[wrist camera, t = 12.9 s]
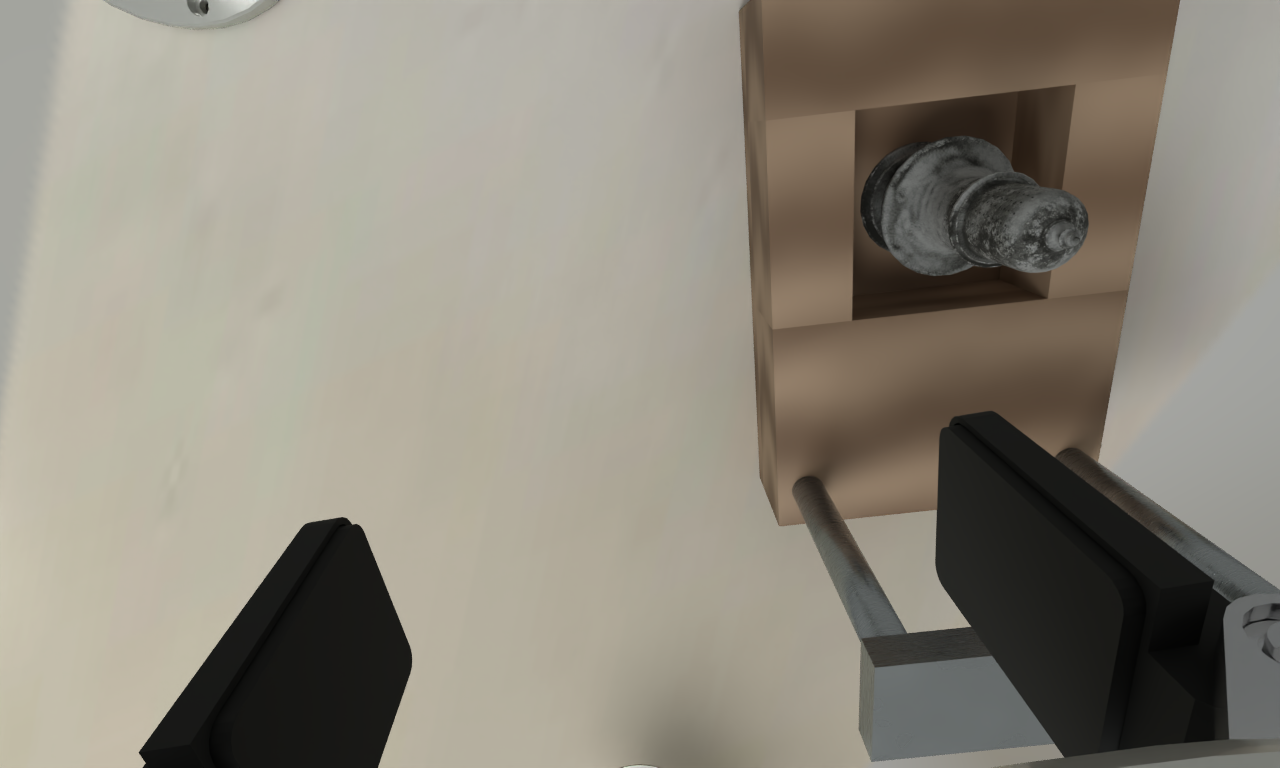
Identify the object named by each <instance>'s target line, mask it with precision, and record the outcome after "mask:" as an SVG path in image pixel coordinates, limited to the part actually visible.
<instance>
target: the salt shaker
mask: <svg viewBox="0 0 1280 768" xmlns="http://www.w3.org/2000/svg"><path fill="white" fill-rule="evenodd" d="M860 213H861V218H862V222H863V226H864V228H865V230H866V232H867V233H868V235H869V237H870V238H871V239H872V240H873V241H874V242H875V243H876V244H877V245H878V246H879V247H881V248H883V249H885V250H887V251H889V252H891V254H892V255H893V256H894V257H895V258H896V259H897V260H898V261H899V262H900V263H901V264H902V265H903V266H905V267H907V268H909V269H911V270H913V271H915V272H917V273H921V274H926V275H931V276H941V275H952V274H955V273H958V272H961V271H964V270H967V269H969V268H971V267H972V266H978V267H984V268H989V267H998V266H1001V265H1004V266H1007V267H1010V268H1013V269H1015V270H1018V271H1022V272H1028V273H1039V272H1047V271H1050V270H1053V269H1056V268H1058V267H1060V266H1061V265H1063V264H1065V263H1067V262H1068V261H1069V260H1070V259H1071V258H1072V257H1073V256H1074V255H1075V254H1076V253H1077V252H1078V251H1079V249H1080V248H1081V246H1082V245H1083V243H1084V241H1085V239H1086V236H1087V232H1088V227H1089V220H1088V213H1087V211H1086V208H1085V206H1084V204H1083V203H1082V202H1081V201H1080V200H1079V199H1078V198H1077V197H1075V196H1074V195H1072V194H1070V193H1068V192H1066V191H1064V190H1059V189H1054V188H1047V187H1040V186H1039V185H1038V184H1037V183H1036V182H1035V181H1034V180H1033V179H1032V178H1030V177H1028V176H1026V175H1025V174H1023V173H1018V172H1014V170H1013V168H1012V166H1011V163H1010V161H1009V160H1008V159H1007V157H1006V156H1005V155H1004V154H1003V153H1002V152H1001V151H1000V150H999V148H997V147H996V146H994V145H992V144H990V143H989V142H987V141H985V140H984V139H979V138H975V137H970V136H954V137H945V138H943V139H940V140H937V141H934V142H915V143H910V144H907V145H904V146H902V147H899V148H897V149H895V150H894V151H892V152H891V153H889V154H888V155H886V156H885V157H884V158H883V159H882V160H881V161H880V162H879V163H878V164H877V165H876V166H875V167H874V168H873V170H872V172H871V173H870V175H869V177H868V179H867V180H866V182H865V185H864V189H863V192H862V195H861V206H860Z"/></svg>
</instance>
